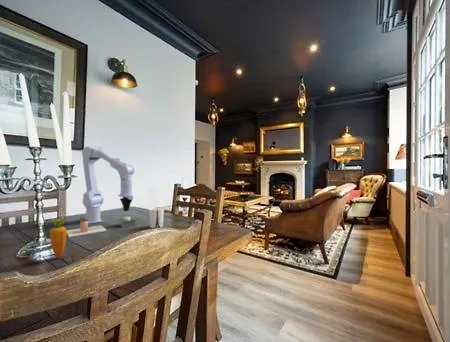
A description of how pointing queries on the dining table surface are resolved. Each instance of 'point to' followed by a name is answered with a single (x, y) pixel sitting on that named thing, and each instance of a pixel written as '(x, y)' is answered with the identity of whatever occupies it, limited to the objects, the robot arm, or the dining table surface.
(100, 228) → the picture sheet
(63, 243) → the carrot
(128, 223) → the frame
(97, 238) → the dining table surface
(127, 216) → the button
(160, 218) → the white cup
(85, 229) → the marker
